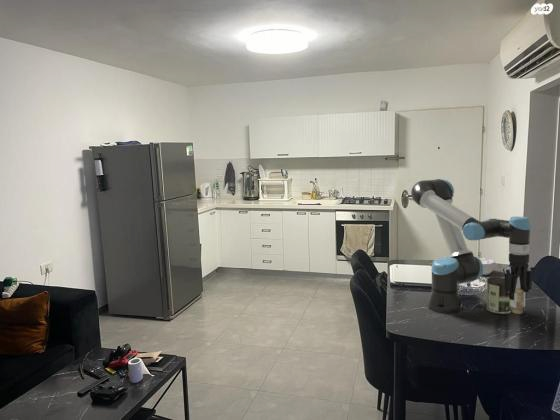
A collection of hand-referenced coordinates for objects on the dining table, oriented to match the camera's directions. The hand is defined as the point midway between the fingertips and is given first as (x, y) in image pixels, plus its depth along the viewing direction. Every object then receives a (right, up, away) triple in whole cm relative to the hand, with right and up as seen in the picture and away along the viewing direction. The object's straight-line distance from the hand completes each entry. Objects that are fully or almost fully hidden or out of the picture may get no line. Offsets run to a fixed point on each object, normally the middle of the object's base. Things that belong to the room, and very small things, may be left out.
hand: (517, 306), depth 177 cm
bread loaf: (0, -3, 0) cm, 3 cm away
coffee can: (0, -5, +15) cm, 16 cm away
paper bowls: (+20, +3, +74) cm, 77 cm away
